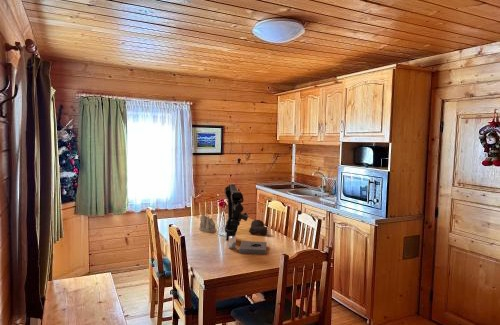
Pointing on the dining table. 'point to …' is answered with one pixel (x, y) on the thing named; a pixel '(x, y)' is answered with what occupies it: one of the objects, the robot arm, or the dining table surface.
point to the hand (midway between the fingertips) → (235, 231)
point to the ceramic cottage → (207, 224)
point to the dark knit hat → (258, 228)
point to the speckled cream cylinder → (232, 242)
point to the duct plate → (253, 247)
